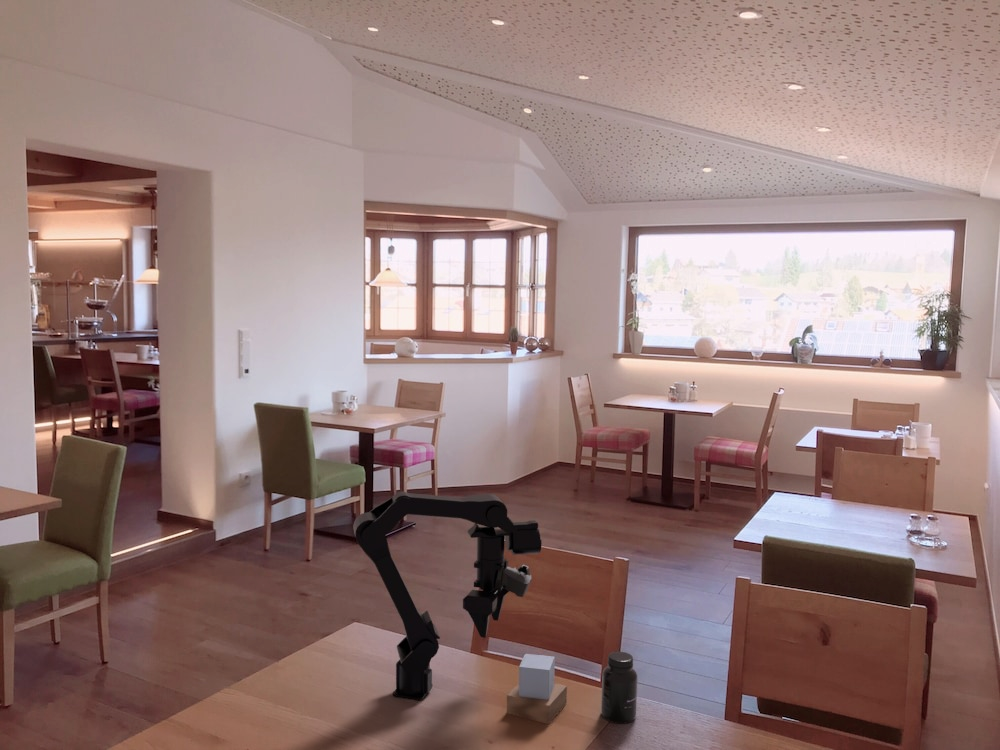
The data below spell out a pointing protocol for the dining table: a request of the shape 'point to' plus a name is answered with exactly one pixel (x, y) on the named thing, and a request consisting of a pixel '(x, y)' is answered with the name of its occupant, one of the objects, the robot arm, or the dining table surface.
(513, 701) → the tan flat square block
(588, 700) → the dining table surface
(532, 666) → the slate cube
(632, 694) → the supplement bottle
